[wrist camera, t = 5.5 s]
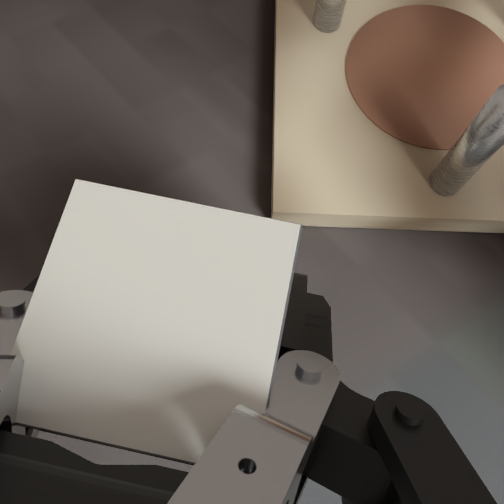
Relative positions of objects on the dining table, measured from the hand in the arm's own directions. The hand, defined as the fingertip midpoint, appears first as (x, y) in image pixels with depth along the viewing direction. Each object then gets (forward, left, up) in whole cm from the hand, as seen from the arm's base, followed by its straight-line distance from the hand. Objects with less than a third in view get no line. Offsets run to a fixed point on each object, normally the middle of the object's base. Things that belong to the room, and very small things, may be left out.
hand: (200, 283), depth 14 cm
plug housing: (0, +2, -4) cm, 5 cm away
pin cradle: (-9, -10, -4) cm, 14 cm away
